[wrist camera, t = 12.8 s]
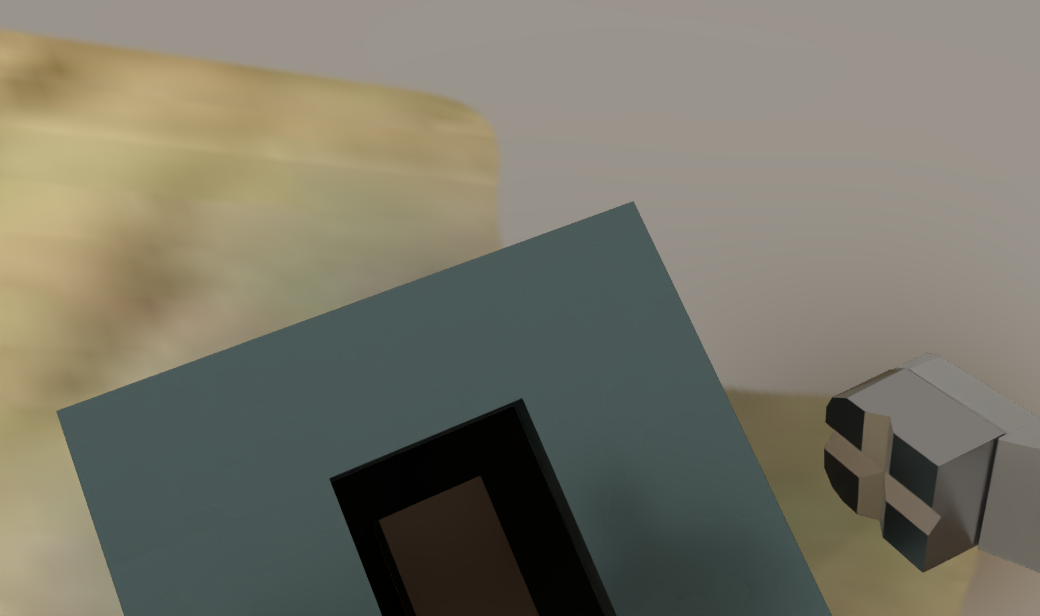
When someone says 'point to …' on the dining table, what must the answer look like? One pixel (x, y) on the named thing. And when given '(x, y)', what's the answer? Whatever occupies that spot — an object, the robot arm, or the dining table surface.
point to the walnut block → (453, 557)
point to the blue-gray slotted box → (433, 413)
